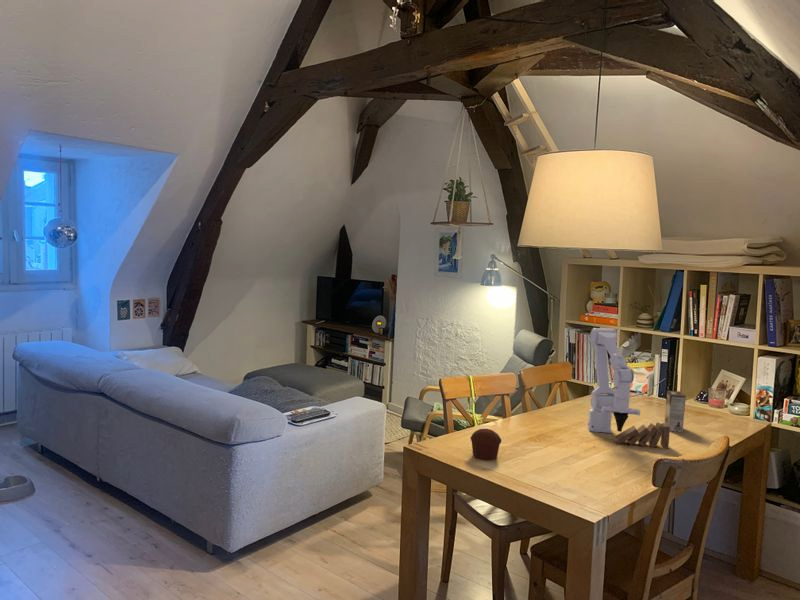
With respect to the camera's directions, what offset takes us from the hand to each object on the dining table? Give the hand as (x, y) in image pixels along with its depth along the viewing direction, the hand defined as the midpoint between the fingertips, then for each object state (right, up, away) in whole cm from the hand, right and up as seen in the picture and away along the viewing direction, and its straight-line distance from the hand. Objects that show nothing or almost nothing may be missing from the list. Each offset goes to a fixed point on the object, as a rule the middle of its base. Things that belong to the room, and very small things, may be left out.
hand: (619, 430), depth 258 cm
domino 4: (+12, -5, -2) cm, 14 cm away
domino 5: (+17, -6, -2) cm, 18 cm away
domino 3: (+8, -5, -1) cm, 9 cm away
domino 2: (+4, -4, 0) cm, 6 cm away
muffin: (-57, -5, -22) cm, 62 cm away
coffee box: (+32, -4, +23) cm, 40 cm away
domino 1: (-1, -4, +1) cm, 4 cm away
